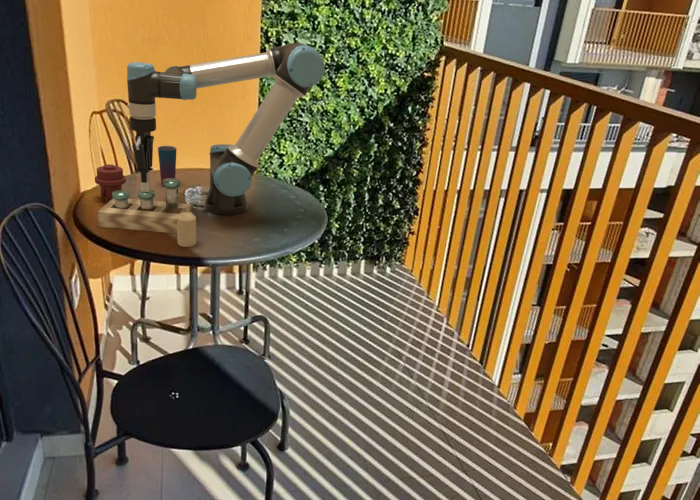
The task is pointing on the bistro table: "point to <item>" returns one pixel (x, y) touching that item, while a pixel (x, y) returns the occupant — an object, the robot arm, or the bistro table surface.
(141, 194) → the green lidded glass jar
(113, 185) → the mechanical component
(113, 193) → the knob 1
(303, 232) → the bistro table surface
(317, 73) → the robot arm
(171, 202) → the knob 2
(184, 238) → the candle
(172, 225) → the birch block
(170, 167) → the cup
